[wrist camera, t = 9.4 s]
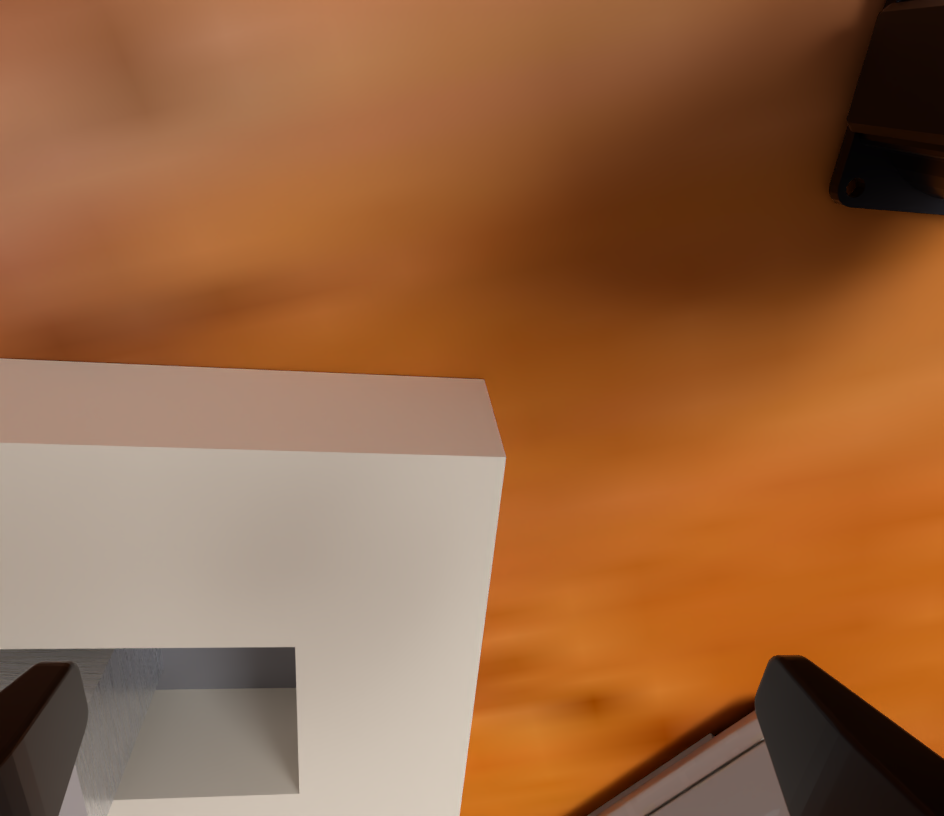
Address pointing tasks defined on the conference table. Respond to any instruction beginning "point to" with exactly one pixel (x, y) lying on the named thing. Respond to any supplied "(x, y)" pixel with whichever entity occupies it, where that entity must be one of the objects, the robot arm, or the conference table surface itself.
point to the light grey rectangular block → (99, 714)
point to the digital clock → (709, 780)
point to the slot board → (261, 572)
